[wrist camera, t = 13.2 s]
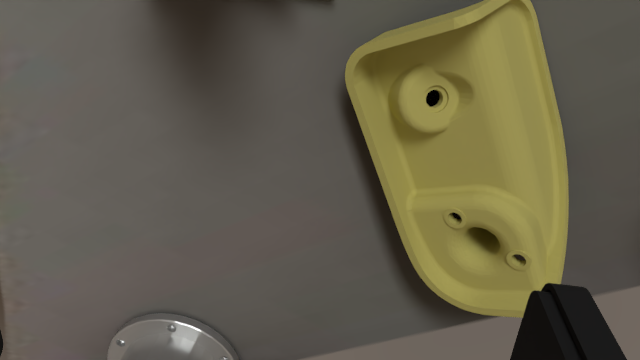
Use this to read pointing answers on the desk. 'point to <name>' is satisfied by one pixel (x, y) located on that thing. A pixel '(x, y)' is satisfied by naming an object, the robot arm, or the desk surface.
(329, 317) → the desk surface
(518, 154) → the plastic component
